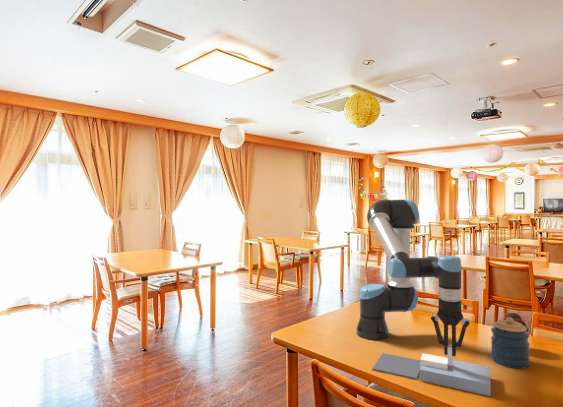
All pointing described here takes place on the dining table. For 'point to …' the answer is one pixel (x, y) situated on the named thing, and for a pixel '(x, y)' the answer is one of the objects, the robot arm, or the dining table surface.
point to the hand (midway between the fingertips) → (450, 364)
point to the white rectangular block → (434, 361)
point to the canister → (510, 344)
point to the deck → (460, 377)
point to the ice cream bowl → (516, 319)
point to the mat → (398, 366)
